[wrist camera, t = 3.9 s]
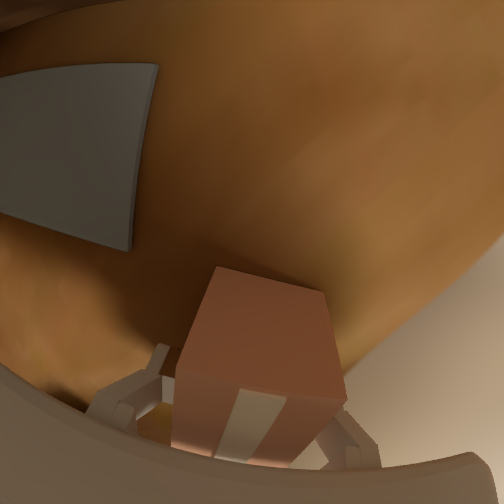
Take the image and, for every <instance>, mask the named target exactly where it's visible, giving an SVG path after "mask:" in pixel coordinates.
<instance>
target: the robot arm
mask: <svg viewBox="0 0 504 504" xmlns="http://www.w3.org/2000/svg"><path fill="white" fill-rule="evenodd" d="M181 353H182V349H178V348H175V347H172V346H169V345H166V344H163V343H159V344H158V345H157V347H156V349H155V351H154V353H153V355H152V357H151V359H150V361H149V363H148V365H147V367H146V369H145V370H144V369H141V370H139V371H137V372H135V373H133V374H131V375H129V376H127V377H125V378H123V379H121V380H119V381H117V382H115V383H113V384H111V385H109V386H107V387H105V388H103V389H101V390H99V391H98V392H97V393H96V395H95V397H94V399H93V400H92V402H91V404H90V406H89V407H88V409H87V411H86V413H85V414H84V413H82V412H80V411H78V410H76V409H74V408H72V407H71V406H69V405H67V404H65V403H63V402H61V401H59V400H58V399H56V398H54V397H52V396H50V395H49V394H47V393H45V392H44V391H42V390H40V389H39V388H37V387H35V386H34V385H32V384H31V383H29V382H28V381H26V380H25V379H23V378H22V377H20V376H19V375H17V374H16V373H14V372H13V371H11V370H10V369H9V368H7V367H6V366H4V365H3V364H2V363H0V504H498V498H497V492H496V487H495V483H494V479H493V476H492V472H491V470H490V468H489V466H488V465H487V464H486V463H485V462H484V461H483V460H482V459H481V458H480V457H479V456H478V455H476V454H475V453H474V452H466V453H462V454H458V455H454V456H451V457H446V458H442V459H437V460H432V461H427V462H421V463H416V464H409V465H402V466H395V467H385V468H382V466H381V460H380V455H379V450H378V445H377V444H376V443H375V442H374V441H373V440H372V438H371V437H370V436H369V435H368V434H367V433H366V432H365V431H364V430H363V429H362V428H361V427H360V425H359V424H358V423H357V422H356V421H355V420H354V419H353V417H352V416H351V415H349V413H348V412H347V411H344V409H343V406H342V407H341V408H340V410H339V411H338V412H337V413H336V414H335V416H334V417H333V418H332V419H331V420H330V422H329V423H328V424H327V425H326V426H325V427H324V428H323V430H322V431H321V432H320V433H319V434H318V435H317V436H316V437H315V440H316V441H317V443H318V445H319V446H320V448H321V449H322V451H323V452H324V454H325V455H326V457H327V458H328V460H329V462H328V463H327V464H326V465H325V466H324V467H323V468H321V469H320V470H305V469H304V470H303V469H289V468H278V467H268V466H260V465H253V464H246V463H240V462H234V461H228V460H223V459H218V458H213V457H209V456H204V455H200V454H196V453H192V452H188V451H184V450H181V449H177V448H173V447H170V446H167V445H163V444H160V443H157V442H154V441H151V440H148V439H145V438H142V437H139V434H138V428H137V422H136V420H137V419H139V418H140V417H142V416H143V415H145V414H146V413H147V412H149V411H150V410H151V409H153V408H154V407H156V406H157V405H158V404H160V403H161V401H162V402H166V403H169V404H173V398H174V384H175V372H176V365H177V363H178V360H179V358H180V355H181Z"/></svg>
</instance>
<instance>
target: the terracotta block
mask: <svg viewBox="0 0 504 504" xmlns="http://www.w3.org/2000/svg"><path fill="white" fill-rule="evenodd" d="M346 401H347V395H346V390H345V384H344V379H343V374H342V369H341V365H340V360H339V355H338V350H337V346H336V341H335V337H334V333H333V328H332V324H331V320H330V315H329V311H328V307H327V303H326V299H325V295H324V292H322V291H317V290H313V289H309V288H305V287H301V286H296V285H292V284H288V283H284V282H280V281H276V280H272V279H268V278H263V277H259V276H255V275H251V274H247V273H243V272H239V271H236V270H232V269H228V268H224V267H220V266H216V268H215V271H214V273H213V276H212V278H211V280H210V283H209V285H208V288H207V290H206V293H205V295H204V297H203V300H202V302H201V305H200V307H199V310H198V312H197V315H196V317H195V320H194V322H193V325H192V327H191V330H190V332H189V335H188V337H187V340H186V342H185V345H184V347H183V350H182V353H181V355H180V358H179V360H178V363H177V365H176V372H175V384H174V398H173V414H172V433H171V447H173V448H177V449H181V450H184V451H188V452H192V453H196V454H200V455H204V456H209V457H213V458H218V459H223V460H228V461H234V462H240V463H246V464H253V465H260V466H268V467H278V468H286V467H287V466H288V465H289V464H290V463H292V461H293V460H295V458H297V456H298V455H299V454H300V453H301V452H302V451H303V450H304V449H305V448H306V447H307V446H308V445H309V444H310V443H311V442H312V441H313V440H314V439H315V437H316V436H317V435H318V434H319V433H320V432H321V431H322V430H323V428H324V427H325V426H326V425H327V424H328V423H329V422H330V420H331V419H332V418H333V417H334V416H335V414H336V413H337V412H338V411H339V410H340V408H341V407H342V406H343V405H344V403H345V402H346Z"/></svg>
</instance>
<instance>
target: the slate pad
mask: <svg viewBox="0 0 504 504" xmlns="http://www.w3.org/2000/svg"><path fill="white" fill-rule="evenodd" d="M158 69H159V65H157V64H150V63H103V64H86V65H74V66H64V67H56V68H48V69H42V70H36V71H30V72H25V73H20V74H15V75H10V76H6V77H2V78H0V212H1V213H4V214H7V215H10V216H13V217H16V218H19V219H22V220H25V221H28V222H31V223H34V224H37V225H40V226H43V227H46V228H49V229H52V230H55V231H58V232H61V233H65V234H68V235H71V236H74V237H77V238H81V239H84V240H87V241H91V242H94V243H97V244H100V245H104V246H107V247H111V248H114V249H117V250H121V251H124V252H128V251H129V250H130V249H132V231H133V218H134V207H135V197H136V188H137V179H138V171H139V164H140V157H141V151H142V144H143V138H144V133H145V127H146V122H147V117H148V112H149V107H150V102H151V98H152V93H153V89H154V85H155V80H156V76H157V72H158Z"/></svg>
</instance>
